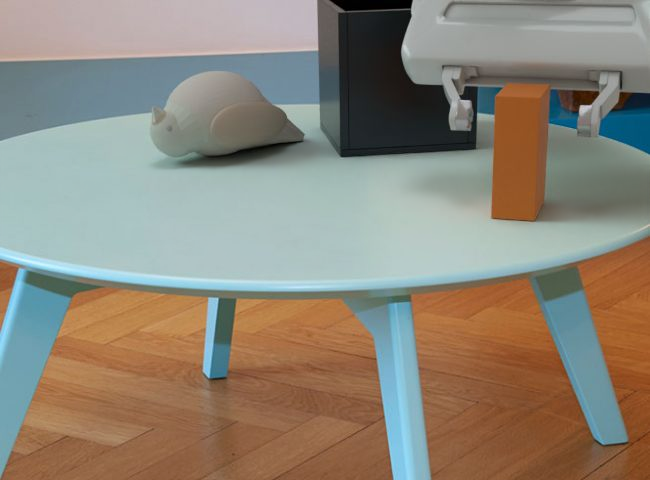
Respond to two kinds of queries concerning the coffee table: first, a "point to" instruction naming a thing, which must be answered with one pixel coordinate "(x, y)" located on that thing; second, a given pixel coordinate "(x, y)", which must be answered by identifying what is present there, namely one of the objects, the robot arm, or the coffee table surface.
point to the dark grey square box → (379, 84)
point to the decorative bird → (218, 117)
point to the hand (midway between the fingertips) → (522, 129)
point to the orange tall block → (520, 151)
